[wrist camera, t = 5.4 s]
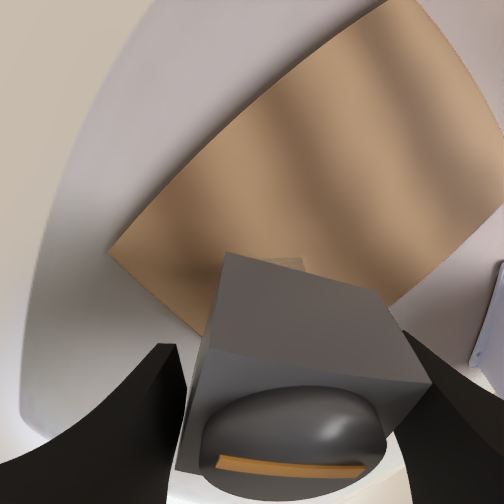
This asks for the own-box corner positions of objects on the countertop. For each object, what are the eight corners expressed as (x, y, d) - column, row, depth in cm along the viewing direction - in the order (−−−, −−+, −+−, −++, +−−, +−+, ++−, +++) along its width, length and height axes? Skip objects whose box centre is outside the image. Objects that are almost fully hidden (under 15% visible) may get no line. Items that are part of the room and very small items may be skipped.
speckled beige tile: (301, 275, 16) (309, 306, 14) (246, 277, 16) (244, 309, 14) (301, 257, 16) (310, 286, 13) (244, 259, 16) (243, 289, 13)
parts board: (397, -5, 11) (406, -11, 10) (510, 177, 15) (522, 181, 14) (115, 244, 17) (107, 252, 16) (269, 375, 21) (269, 388, 20)
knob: (376, 291, 10) (446, 410, 5) (318, 395, 12) (339, 508, 7) (226, 251, 10) (202, 382, 5) (193, 371, 12) (170, 494, 7)
